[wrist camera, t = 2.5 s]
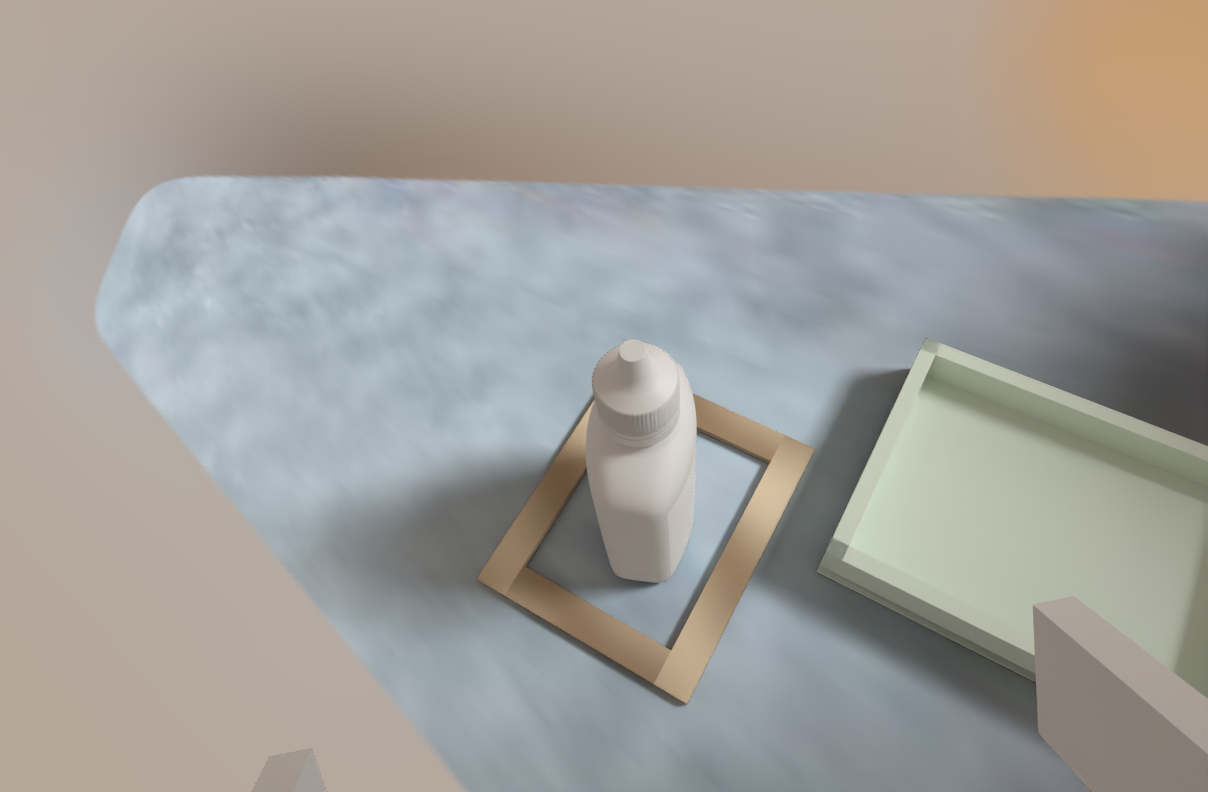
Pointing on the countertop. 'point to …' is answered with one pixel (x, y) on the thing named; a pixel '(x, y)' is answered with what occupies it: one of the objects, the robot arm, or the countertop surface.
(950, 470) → the tray
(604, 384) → the eye dropper bottle
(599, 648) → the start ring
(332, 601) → the countertop surface
